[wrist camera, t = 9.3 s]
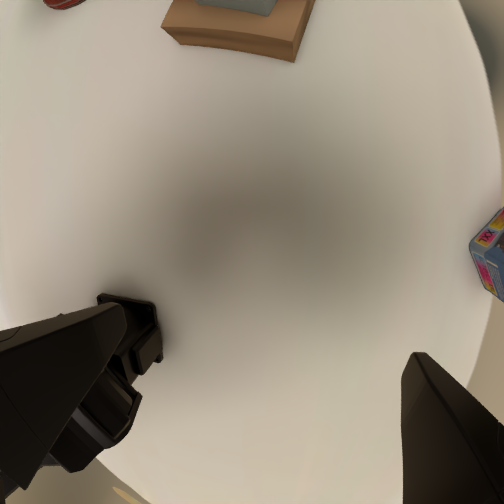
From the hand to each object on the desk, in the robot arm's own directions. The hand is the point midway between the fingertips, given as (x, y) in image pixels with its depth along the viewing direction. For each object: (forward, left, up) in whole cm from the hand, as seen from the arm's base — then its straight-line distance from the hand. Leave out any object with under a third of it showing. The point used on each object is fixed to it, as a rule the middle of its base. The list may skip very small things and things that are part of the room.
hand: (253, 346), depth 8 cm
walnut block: (-3, +18, -14) cm, 23 cm away
